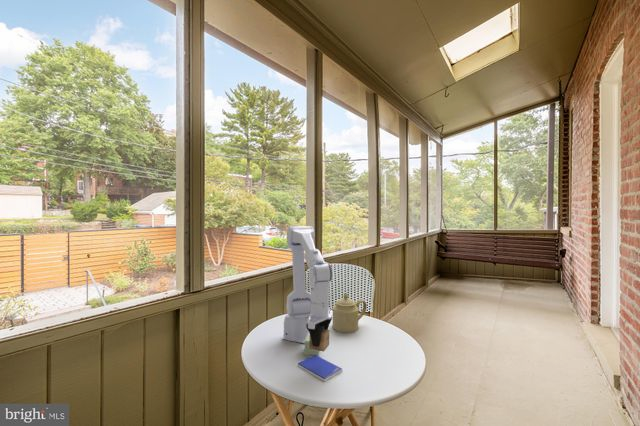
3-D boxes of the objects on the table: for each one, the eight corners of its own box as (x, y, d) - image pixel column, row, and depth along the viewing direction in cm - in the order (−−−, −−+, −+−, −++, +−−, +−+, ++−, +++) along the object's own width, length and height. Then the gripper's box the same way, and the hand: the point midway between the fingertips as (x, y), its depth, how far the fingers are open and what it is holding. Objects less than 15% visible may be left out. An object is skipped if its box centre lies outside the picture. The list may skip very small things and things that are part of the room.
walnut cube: (309, 348, 103) (309, 333, 103) (315, 341, 108) (315, 327, 107) (323, 351, 101) (324, 336, 101) (329, 344, 106) (329, 329, 105)
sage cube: (304, 354, 113) (304, 340, 113) (306, 347, 118) (307, 334, 118) (318, 355, 112) (318, 341, 112) (320, 348, 117) (320, 335, 117)
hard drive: (342, 367, 103) (315, 354, 111) (324, 378, 97) (297, 362, 106) (342, 372, 103) (315, 358, 112) (324, 383, 97) (297, 367, 106)
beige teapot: (346, 317, 148) (346, 285, 147) (367, 323, 141) (368, 290, 140) (327, 328, 136) (327, 293, 135) (349, 335, 129) (350, 298, 128)
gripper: (323, 310, 95) (322, 354, 96) (338, 296, 109) (337, 335, 109) (301, 307, 98) (301, 350, 99) (319, 293, 111) (318, 331, 112)
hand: (319, 342), depth 104 cm, fingers closed on walnut cube, 5 cm apart
